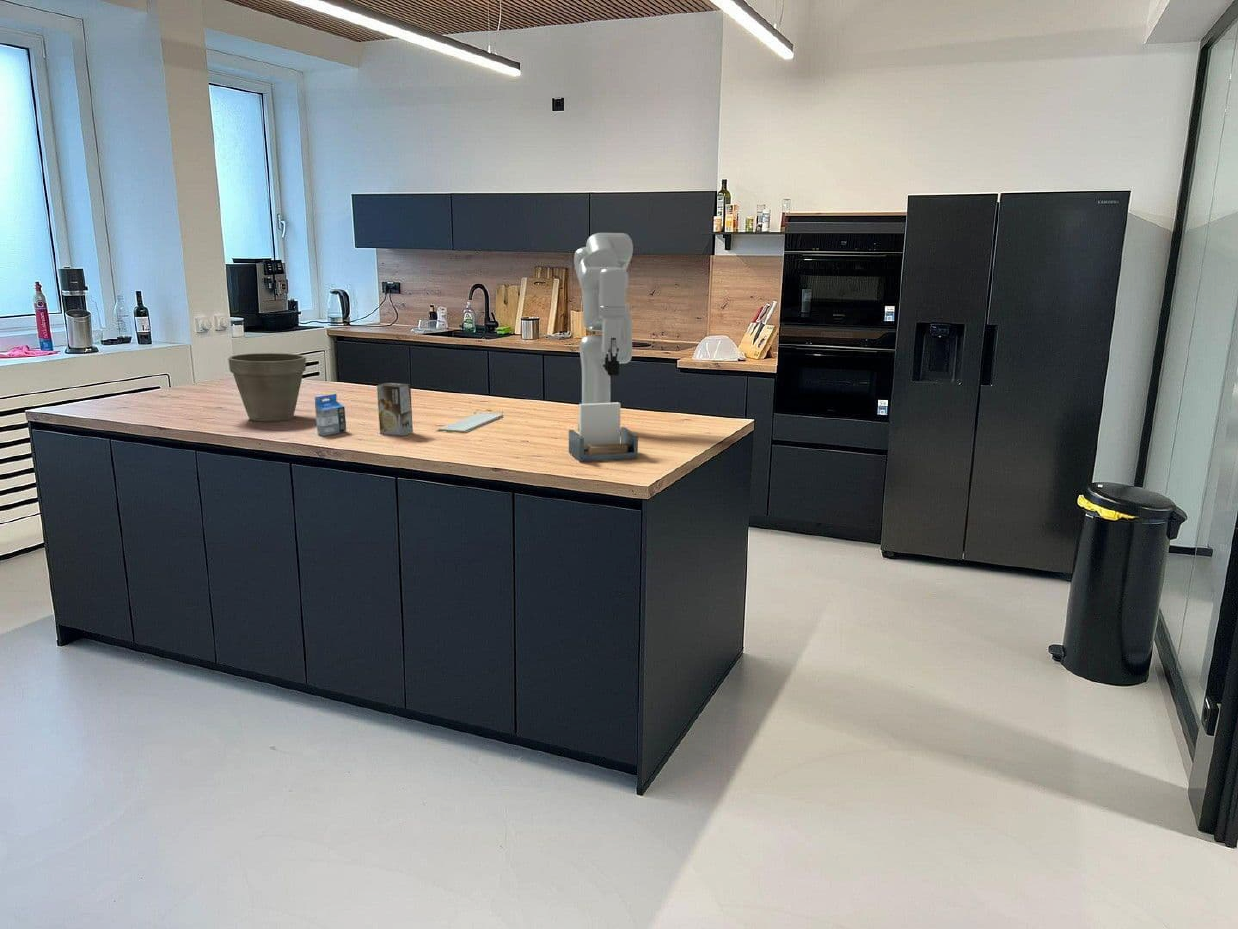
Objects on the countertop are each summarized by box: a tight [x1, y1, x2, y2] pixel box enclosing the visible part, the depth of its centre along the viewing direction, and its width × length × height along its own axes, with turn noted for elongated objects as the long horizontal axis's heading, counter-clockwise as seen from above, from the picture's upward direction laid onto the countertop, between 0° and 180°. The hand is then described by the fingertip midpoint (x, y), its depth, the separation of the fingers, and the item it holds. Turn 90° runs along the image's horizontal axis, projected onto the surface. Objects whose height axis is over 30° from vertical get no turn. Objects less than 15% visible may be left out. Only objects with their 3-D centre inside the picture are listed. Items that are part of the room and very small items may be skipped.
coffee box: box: [376, 382, 414, 437], centre depth 280 cm, size 9×6×16 cm
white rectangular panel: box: [578, 402, 621, 449], centre depth 256 cm, size 2×12×15 cm, turn 107°
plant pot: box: [227, 352, 307, 423], centre depth 302 cm, size 25×25×22 cm
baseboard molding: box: [435, 409, 504, 434], centre depth 300 cm, size 31×3×12 cm
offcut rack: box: [568, 426, 639, 463], centre depth 254 cm, size 13×17×7 cm
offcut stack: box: [584, 442, 628, 455], centre depth 252 cm, size 4×13×4 cm, turn 107°
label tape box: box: [314, 393, 347, 437], centre depth 280 cm, size 9×4×12 cm, turn 149°
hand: (611, 372), depth 250 cm, fingers open, 9 cm apart
